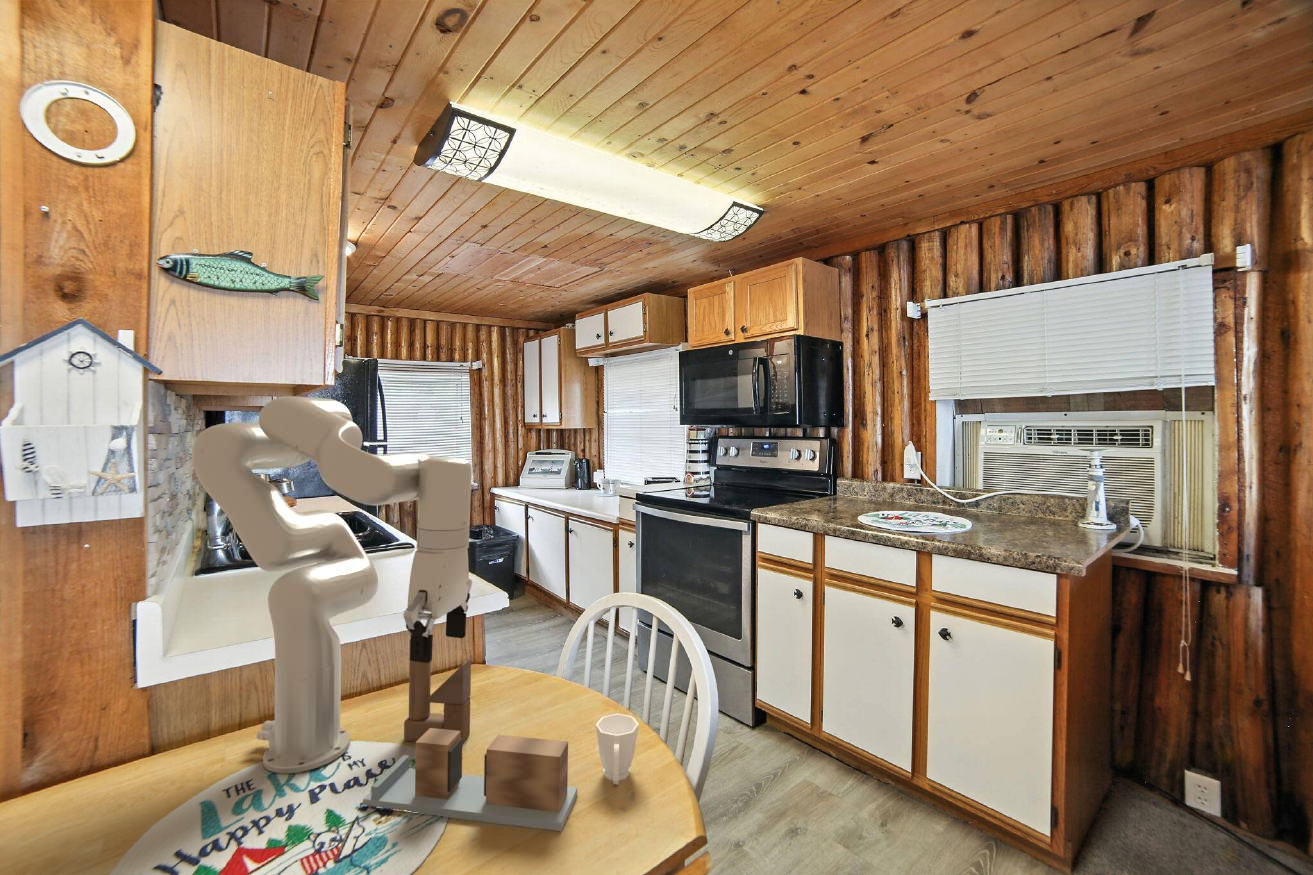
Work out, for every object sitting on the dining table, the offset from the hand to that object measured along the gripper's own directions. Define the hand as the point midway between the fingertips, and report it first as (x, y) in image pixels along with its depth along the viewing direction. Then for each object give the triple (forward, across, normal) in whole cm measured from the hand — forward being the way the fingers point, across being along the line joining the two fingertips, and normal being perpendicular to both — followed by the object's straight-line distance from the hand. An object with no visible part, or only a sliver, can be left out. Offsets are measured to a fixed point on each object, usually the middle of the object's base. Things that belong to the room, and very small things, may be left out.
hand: (439, 648), depth 88 cm
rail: (+21, +2, +8) cm, 23 cm away
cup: (+21, -8, +27) cm, 35 cm away
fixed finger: (+20, +2, +16) cm, 25 cm away
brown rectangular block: (+20, +2, +2) cm, 21 cm away
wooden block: (+22, -12, -7) cm, 26 cm away
